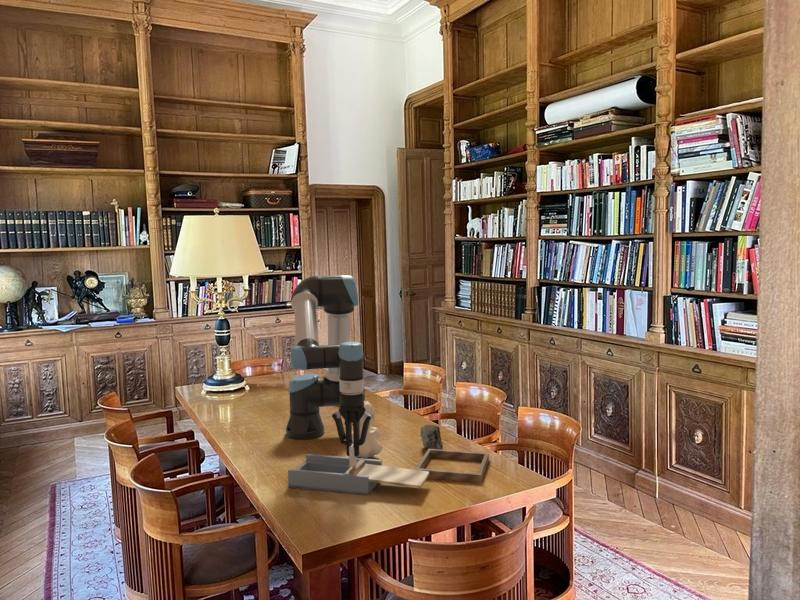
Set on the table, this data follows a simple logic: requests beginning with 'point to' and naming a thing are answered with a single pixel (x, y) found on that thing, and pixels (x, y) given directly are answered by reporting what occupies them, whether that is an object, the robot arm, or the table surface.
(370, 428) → the figurine
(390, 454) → the table surface
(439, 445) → the stone
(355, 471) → the lid
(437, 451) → the brown wooden frame
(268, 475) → the table surface
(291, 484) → the pencil box
